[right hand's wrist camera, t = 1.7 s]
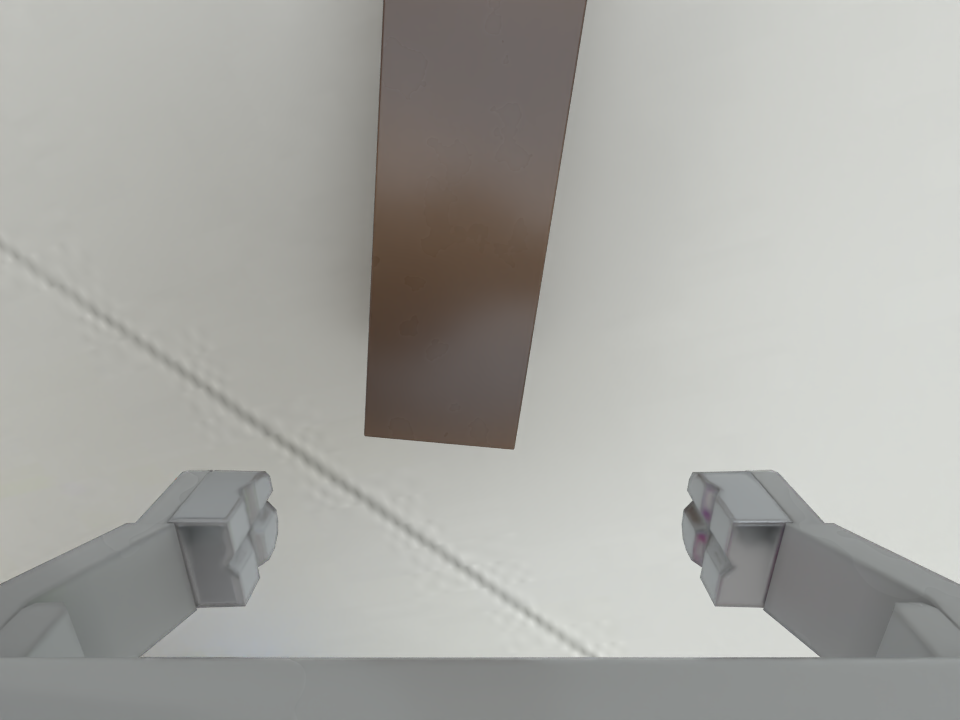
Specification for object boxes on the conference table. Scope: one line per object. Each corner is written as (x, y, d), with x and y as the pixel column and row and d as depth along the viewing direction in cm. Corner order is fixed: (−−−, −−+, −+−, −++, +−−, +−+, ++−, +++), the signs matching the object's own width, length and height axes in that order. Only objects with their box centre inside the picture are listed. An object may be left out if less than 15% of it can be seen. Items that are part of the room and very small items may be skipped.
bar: (499, 356, 28) (514, 450, 19) (396, 346, 28) (363, 436, 19) (591, -301, 19) (698, -686, 10) (439, -330, 18) (416, -751, 10)
